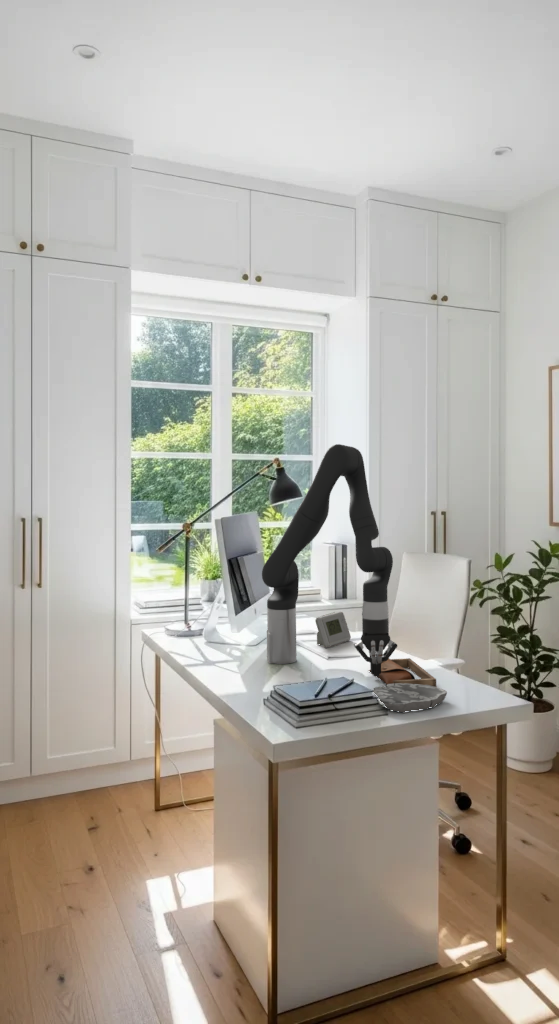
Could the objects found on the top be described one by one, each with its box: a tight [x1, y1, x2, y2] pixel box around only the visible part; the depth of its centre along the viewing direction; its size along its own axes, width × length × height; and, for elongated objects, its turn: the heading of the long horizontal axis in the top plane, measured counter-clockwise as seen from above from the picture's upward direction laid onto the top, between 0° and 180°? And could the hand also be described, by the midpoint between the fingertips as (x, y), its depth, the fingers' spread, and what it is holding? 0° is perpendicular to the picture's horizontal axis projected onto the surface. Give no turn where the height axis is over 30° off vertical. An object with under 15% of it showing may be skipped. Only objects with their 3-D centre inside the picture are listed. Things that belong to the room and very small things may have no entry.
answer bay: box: [381, 657, 437, 687], centre depth 207 cm, size 12×24×2 cm, turn 7°
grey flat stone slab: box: [372, 683, 448, 712], centre depth 183 cm, size 20×17×3 cm
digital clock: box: [314, 610, 352, 649], centre depth 252 cm, size 16×9×11 cm, turn 131°
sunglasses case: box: [368, 658, 416, 685], centre depth 208 cm, size 18×7×7 cm, turn 14°
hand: (375, 675), depth 206 cm, fingers closed
